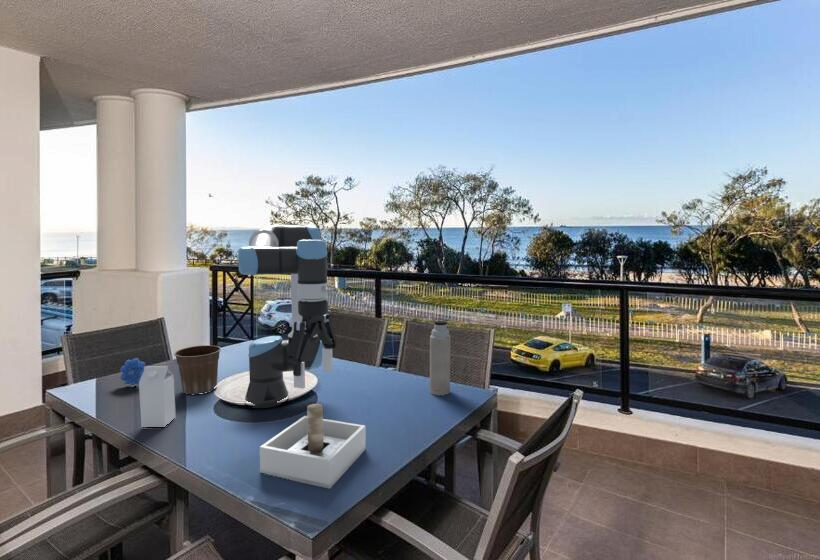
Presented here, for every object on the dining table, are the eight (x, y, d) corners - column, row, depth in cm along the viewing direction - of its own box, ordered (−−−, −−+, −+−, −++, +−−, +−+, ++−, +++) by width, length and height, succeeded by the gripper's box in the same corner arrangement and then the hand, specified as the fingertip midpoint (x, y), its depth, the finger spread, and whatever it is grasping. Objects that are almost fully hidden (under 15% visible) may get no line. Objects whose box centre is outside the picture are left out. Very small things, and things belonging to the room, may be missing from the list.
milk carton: (153, 419, 137) (150, 363, 136) (175, 418, 138) (173, 362, 136) (141, 429, 130) (138, 370, 129) (165, 428, 131) (162, 369, 129)
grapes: (155, 384, 171) (153, 355, 170) (142, 389, 165) (140, 360, 164) (130, 382, 173) (128, 354, 172) (116, 388, 166) (114, 359, 165)
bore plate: (283, 464, 108) (283, 453, 108) (308, 443, 119) (308, 433, 119) (323, 472, 104) (323, 461, 104) (346, 450, 115) (346, 439, 115)
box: (260, 473, 106) (259, 446, 105) (304, 438, 124) (304, 415, 124) (329, 488, 99) (329, 460, 98) (365, 449, 118) (365, 425, 117)
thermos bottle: (425, 392, 162) (426, 322, 160) (436, 386, 169) (436, 318, 166) (443, 397, 158) (444, 324, 155) (453, 391, 164) (454, 321, 162)
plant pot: (199, 400, 154) (197, 357, 153) (166, 395, 159) (164, 353, 158) (231, 385, 170) (229, 347, 168) (200, 381, 175) (198, 343, 173)
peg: (305, 459, 111) (304, 408, 109) (313, 452, 114) (312, 402, 113) (318, 461, 109) (317, 410, 108) (326, 454, 113) (325, 404, 112)
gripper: (297, 307, 95) (299, 397, 97) (348, 294, 118) (349, 366, 120) (269, 305, 97) (272, 393, 99) (325, 293, 121) (326, 364, 123)
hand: (314, 379), depth 110 cm, fingers open, 13 cm apart
